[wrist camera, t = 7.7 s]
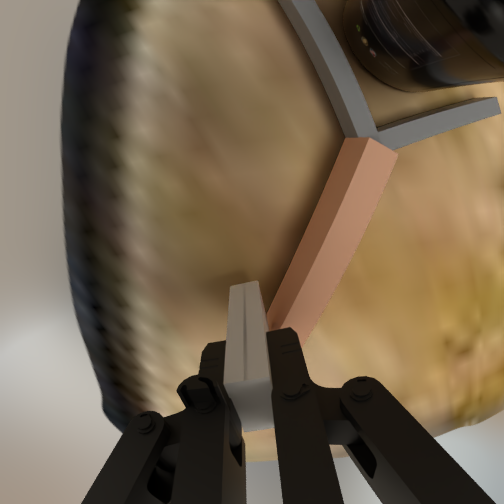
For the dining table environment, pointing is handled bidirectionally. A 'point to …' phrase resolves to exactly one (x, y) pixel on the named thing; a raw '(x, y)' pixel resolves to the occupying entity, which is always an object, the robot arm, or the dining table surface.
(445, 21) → the supplement bottle
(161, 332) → the dining table surface
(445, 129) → the holder
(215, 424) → the robot arm
